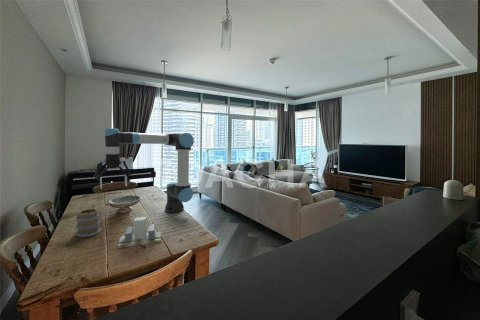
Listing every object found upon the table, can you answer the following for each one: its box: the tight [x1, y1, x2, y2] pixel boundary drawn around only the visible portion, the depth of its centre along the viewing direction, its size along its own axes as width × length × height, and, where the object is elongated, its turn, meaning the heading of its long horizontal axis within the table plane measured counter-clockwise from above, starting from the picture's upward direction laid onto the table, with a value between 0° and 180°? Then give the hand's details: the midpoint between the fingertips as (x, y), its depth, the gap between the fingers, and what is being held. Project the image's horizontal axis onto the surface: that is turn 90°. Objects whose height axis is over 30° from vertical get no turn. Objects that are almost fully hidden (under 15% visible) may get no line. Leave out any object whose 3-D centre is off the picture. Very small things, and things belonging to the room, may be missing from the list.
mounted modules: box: [124, 223, 156, 243], centre depth 129 cm, size 15×10×5 cm, turn 109°
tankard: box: [75, 203, 103, 238], centre depth 141 cm, size 20×13×15 cm, turn 17°
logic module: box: [133, 216, 148, 239], centre depth 129 cm, size 6×5×11 cm
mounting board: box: [117, 231, 162, 249], centre depth 129 cm, size 22×12×2 cm, turn 109°
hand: (114, 187), depth 138 cm, fingers open, 13 cm apart
